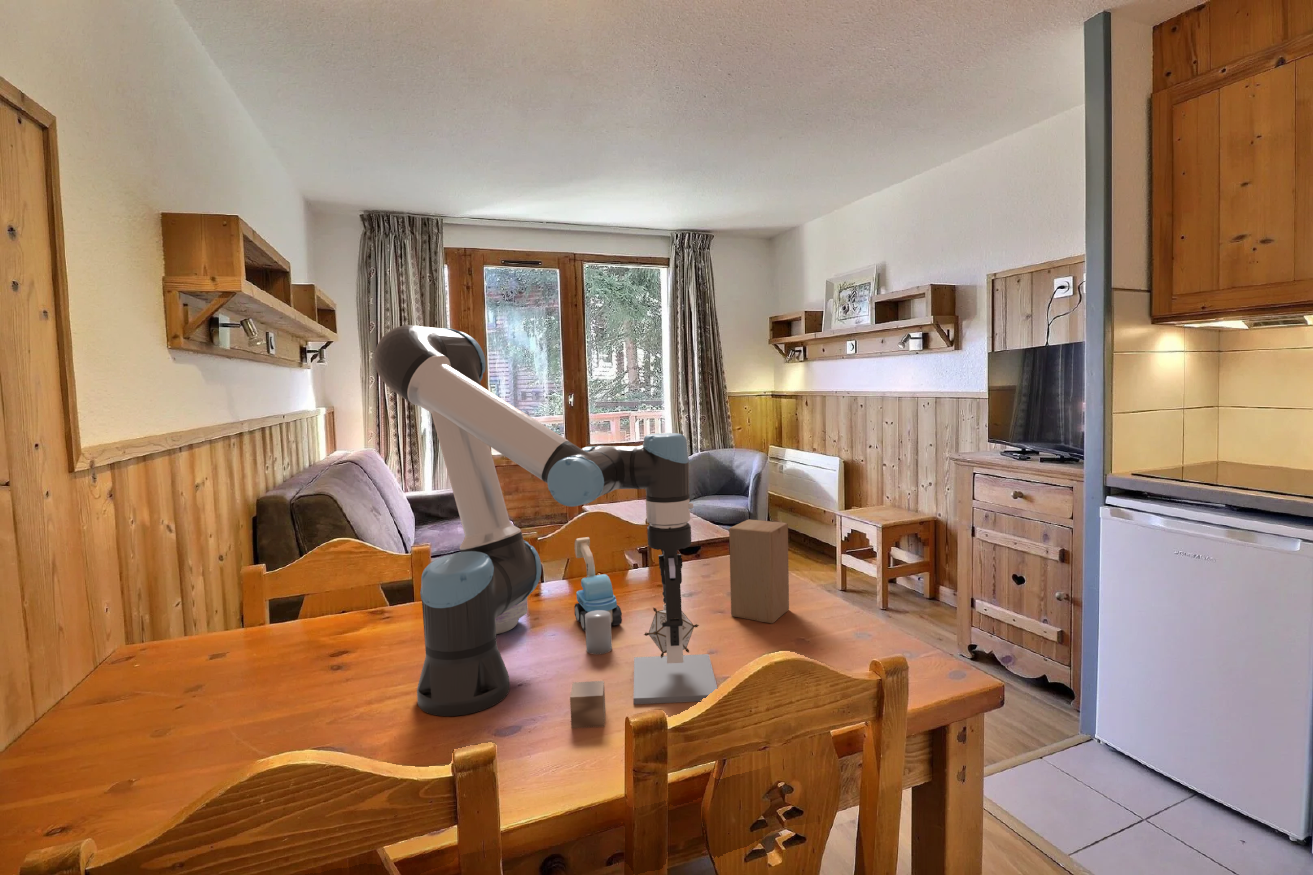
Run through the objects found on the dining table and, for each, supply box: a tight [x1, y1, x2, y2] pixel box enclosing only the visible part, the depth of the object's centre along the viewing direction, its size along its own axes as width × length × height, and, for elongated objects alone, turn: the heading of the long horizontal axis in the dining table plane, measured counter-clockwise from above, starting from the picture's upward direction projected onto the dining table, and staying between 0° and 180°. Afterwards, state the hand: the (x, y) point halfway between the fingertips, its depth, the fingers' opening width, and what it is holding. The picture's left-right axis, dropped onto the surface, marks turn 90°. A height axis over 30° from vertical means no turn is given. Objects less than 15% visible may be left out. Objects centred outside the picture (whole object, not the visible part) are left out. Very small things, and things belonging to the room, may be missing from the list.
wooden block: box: [728, 519, 790, 624], centre depth 146 cm, size 10×10×20 cm
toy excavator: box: [574, 536, 623, 632], centre depth 146 cm, size 9×17×17 cm, turn 21°
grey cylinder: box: [585, 610, 613, 655], centre depth 129 cm, size 5×5×7 cm
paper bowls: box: [495, 597, 529, 635], centre depth 143 cm, size 15×15×8 cm
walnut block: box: [569, 680, 606, 729], centre depth 103 cm, size 5×5×5 cm
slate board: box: [632, 653, 718, 705], centre depth 115 cm, size 14×16×1 cm
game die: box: [643, 607, 700, 658], centre depth 114 cm, size 9×8×10 cm
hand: (673, 650), depth 115 cm, fingers closed on game die, 9 cm apart
